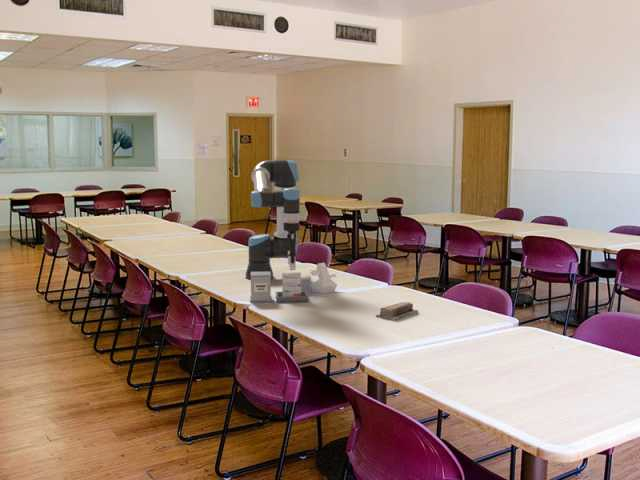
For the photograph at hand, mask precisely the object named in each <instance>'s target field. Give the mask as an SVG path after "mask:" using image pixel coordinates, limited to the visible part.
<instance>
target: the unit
mask: <svg viewBox="0 0 640 480" xmlns="http://www.w3.org/2000/svg"><path fill="white" fill-rule="evenodd" d="M271 279H272V278H271V273H270V272H251V279H250V296H249V303H250V302H261V303H272V302H273V300H272V292H271V291H272V289H271V288H272V284H271Z"/></svg>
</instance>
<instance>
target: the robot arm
mask: <svg viewBox="0 0 640 480" xmlns="http://www.w3.org/2000/svg"><path fill="white" fill-rule="evenodd" d="M250 176H251V177H250V179H251V181H252V183H253V188H254V189H253V191H251V192H250V206H251V207H252V208H276V231H275V232H273V236H270V234H269V233H267V234H266V233H263V234H257V235H253V236H250V237H249V238H248V246H247V247H248V265H247V268H246V272H245V278H246V279H248V280H251V272H270V273H271V279H273V278H274V272H273V269H272V266H271V259H287V265H289V271H297V269H296V256H297V253H298V245H299V244H298V243H299V238H298V237H297V234H296V233H295V232H298V231H300V230H301V228H300V227H301V225H300V220H301V211H300V208H301V207H300V205H301V203H300V200H301V194H300V193H301V192H300V189H299V188H295V187H296V186H297V184H298V183H299V182H300V179H299V170H298V164H297V162H296V161H295V160H288V159H279V160H278V159H277V160H276V159H273V160H269V159H268V160H264V161H261V162H259V163H257V165H255V166H254V167H253V169H252V170H251V175H250ZM270 183H272V184H273V186H274V188H275V189H276V190H271V189H270Z"/></svg>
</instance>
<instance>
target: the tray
mask: <svg viewBox="0 0 640 480" xmlns="http://www.w3.org/2000/svg"><path fill="white" fill-rule="evenodd" d="M308 294H309V293H307V292H306V291H301V296H294V297H282V291H275V300H276V303H308V302H309V295H308Z"/></svg>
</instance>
